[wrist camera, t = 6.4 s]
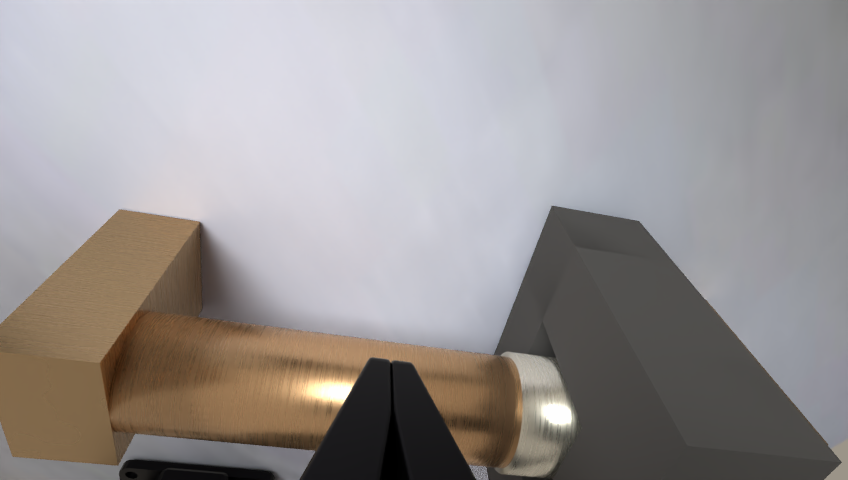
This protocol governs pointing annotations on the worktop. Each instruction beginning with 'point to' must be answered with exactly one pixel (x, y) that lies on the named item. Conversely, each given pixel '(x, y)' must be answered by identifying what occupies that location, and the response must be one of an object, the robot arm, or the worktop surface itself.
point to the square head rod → (232, 367)
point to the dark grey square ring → (650, 365)
